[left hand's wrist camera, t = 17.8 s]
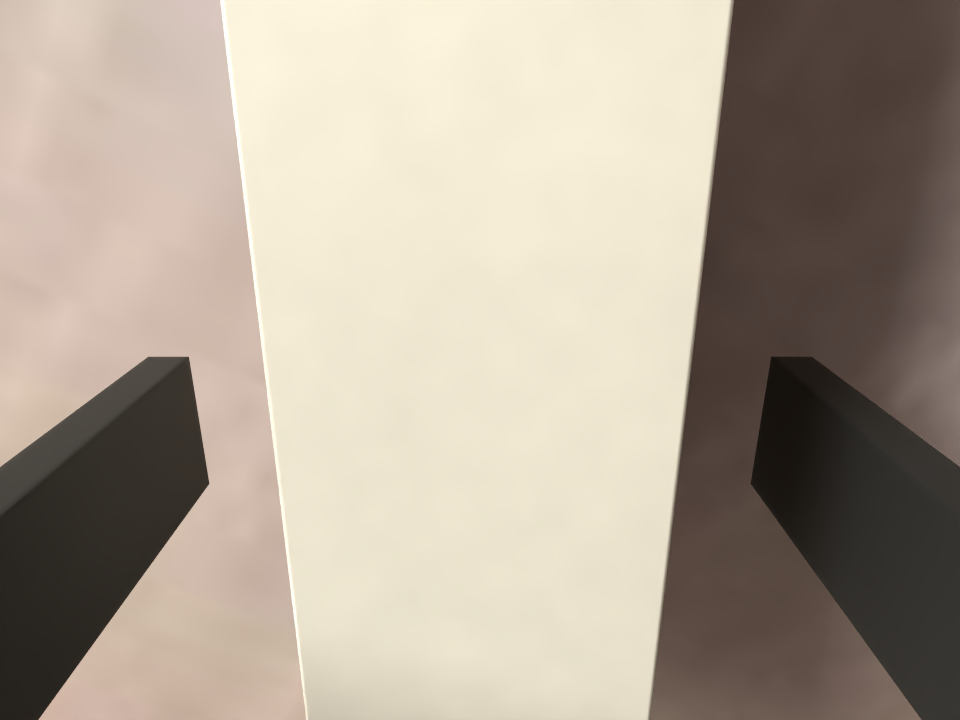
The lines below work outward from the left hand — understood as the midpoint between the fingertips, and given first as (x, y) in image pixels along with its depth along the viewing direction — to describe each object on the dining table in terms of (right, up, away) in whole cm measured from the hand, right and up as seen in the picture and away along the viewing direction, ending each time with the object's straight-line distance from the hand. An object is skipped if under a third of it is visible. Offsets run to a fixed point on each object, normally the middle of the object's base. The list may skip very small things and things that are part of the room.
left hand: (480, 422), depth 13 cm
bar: (0, +9, 0) cm, 9 cm away
